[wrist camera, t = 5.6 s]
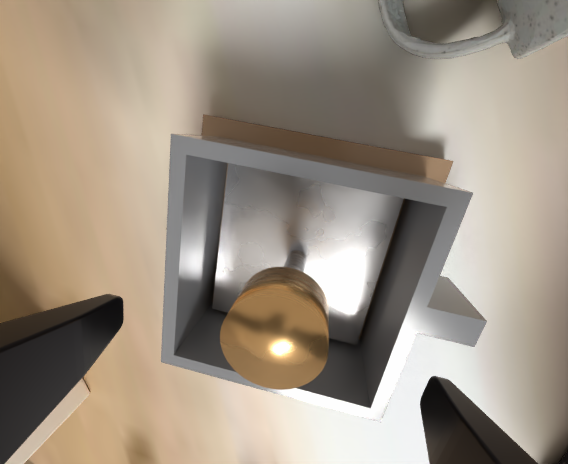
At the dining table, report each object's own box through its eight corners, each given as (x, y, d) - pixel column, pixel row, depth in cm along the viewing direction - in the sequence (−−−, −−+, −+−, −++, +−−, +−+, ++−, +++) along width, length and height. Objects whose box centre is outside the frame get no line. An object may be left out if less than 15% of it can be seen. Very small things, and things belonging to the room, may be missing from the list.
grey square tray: (476, 165, 14) (568, 179, 8) (399, 360, 17) (429, 452, 12) (211, 116, 15) (147, 101, 10) (194, 308, 19) (142, 371, 13)
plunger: (400, 195, 13) (474, 247, 6) (355, 337, 16) (374, 478, 9) (232, 161, 14) (143, 177, 7) (216, 302, 16) (140, 410, 10)
